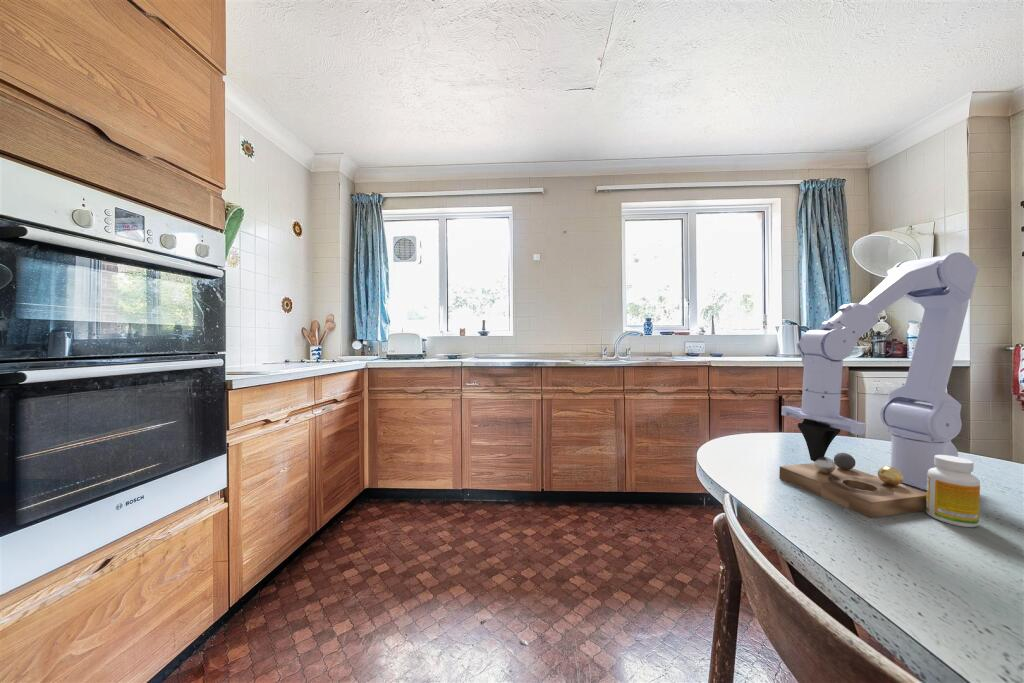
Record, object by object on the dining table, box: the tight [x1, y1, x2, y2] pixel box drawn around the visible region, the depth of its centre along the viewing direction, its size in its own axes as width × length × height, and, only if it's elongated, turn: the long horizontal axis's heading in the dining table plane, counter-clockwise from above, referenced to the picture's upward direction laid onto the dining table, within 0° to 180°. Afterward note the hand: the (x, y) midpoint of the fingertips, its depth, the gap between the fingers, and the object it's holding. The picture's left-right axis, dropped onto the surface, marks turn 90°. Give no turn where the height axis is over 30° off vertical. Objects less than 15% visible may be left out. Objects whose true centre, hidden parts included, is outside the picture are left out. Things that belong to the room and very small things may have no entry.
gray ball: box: [833, 452, 856, 470], centre depth 73 cm, size 3×3×3 cm
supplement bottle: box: [925, 455, 981, 528], centre depth 59 cm, size 5×5×10 cm
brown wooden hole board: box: [778, 462, 927, 519], centre depth 68 cm, size 13×16×2 cm
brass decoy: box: [877, 465, 903, 486], centre depth 66 cm, size 3×3×3 cm
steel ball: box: [813, 456, 835, 474], centre depth 71 cm, size 3×3×3 cm
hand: (817, 460), depth 72 cm, fingers closed, pressing on steel ball
